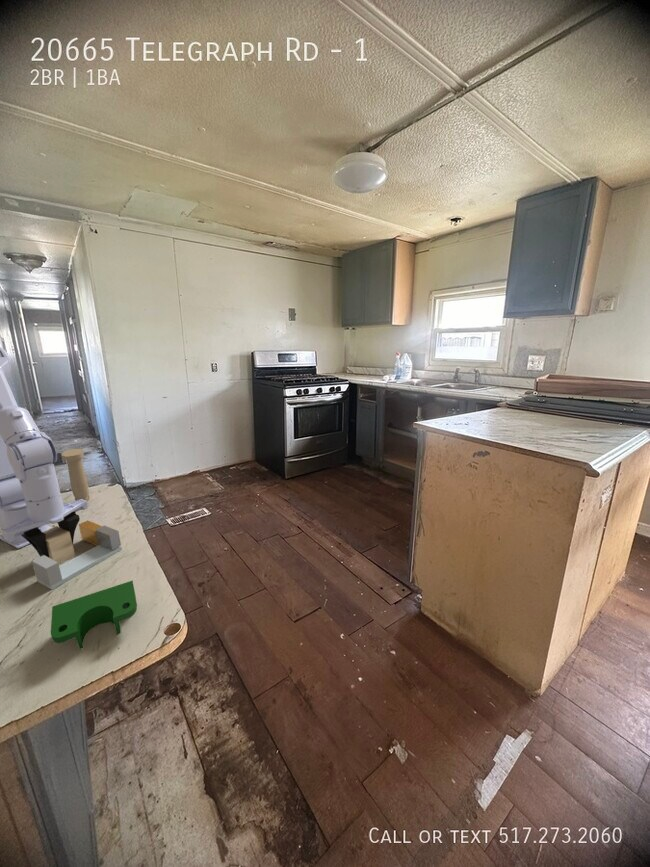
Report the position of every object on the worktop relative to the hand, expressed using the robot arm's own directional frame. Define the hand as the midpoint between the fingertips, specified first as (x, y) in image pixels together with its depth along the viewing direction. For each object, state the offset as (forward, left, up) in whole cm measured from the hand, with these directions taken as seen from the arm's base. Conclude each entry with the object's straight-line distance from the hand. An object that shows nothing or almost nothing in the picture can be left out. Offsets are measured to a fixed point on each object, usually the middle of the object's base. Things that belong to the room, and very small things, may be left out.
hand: (57, 551), depth 73 cm
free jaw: (+4, +7, -1) cm, 8 cm away
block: (0, 0, -1) cm, 1 cm away
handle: (-22, +18, -2) cm, 28 cm away
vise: (+7, +1, -1) cm, 7 cm away
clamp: (+27, -7, -2) cm, 28 cm away
